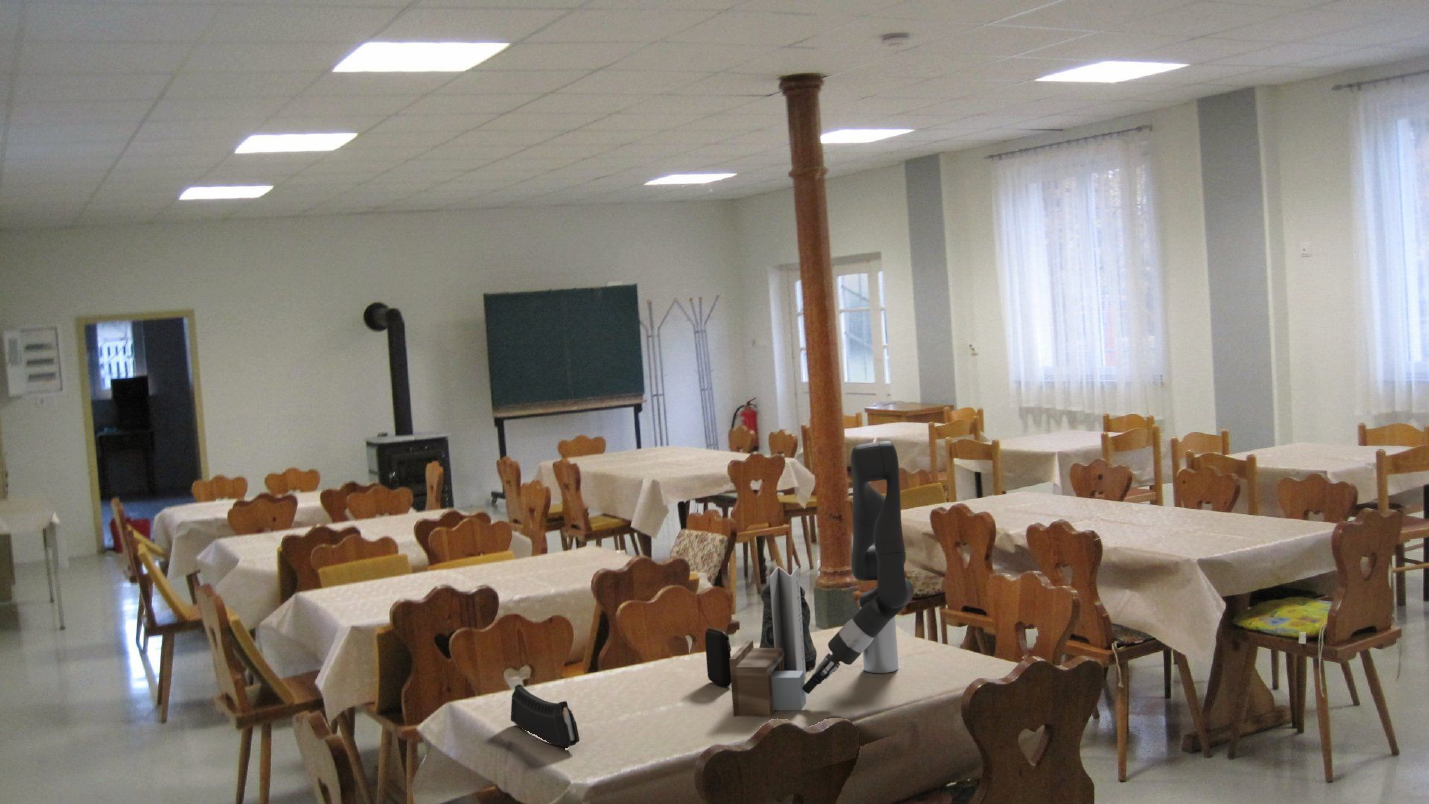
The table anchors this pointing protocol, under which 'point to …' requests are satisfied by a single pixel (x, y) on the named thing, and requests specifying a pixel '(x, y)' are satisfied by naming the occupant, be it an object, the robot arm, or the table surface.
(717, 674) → the carrying case or bag
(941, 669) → the table surface
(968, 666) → the table surface
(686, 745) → the table surface
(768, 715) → the cubby
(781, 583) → the brochure
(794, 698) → the grey block
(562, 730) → the magazine
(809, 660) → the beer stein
